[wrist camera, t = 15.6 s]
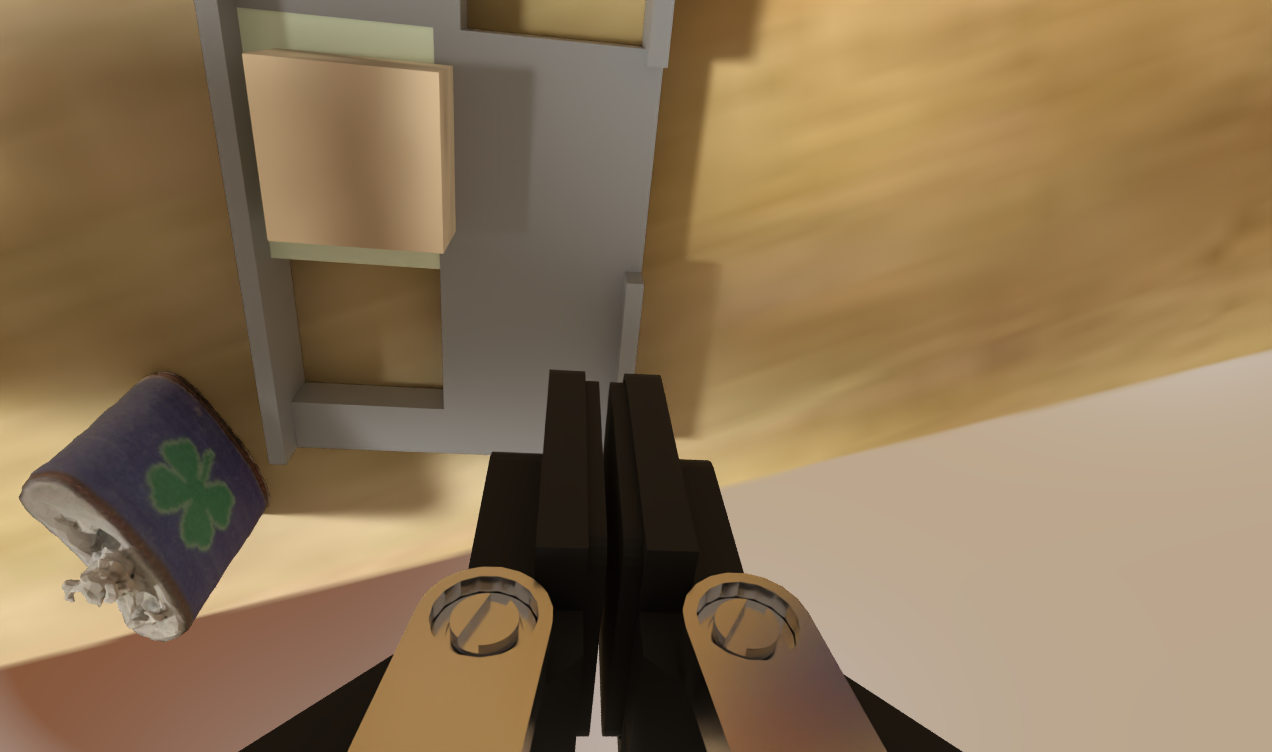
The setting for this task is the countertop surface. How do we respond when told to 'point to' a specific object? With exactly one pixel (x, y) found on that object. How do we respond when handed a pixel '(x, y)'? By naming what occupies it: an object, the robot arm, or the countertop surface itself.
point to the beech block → (353, 149)
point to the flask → (151, 504)
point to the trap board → (462, 221)
